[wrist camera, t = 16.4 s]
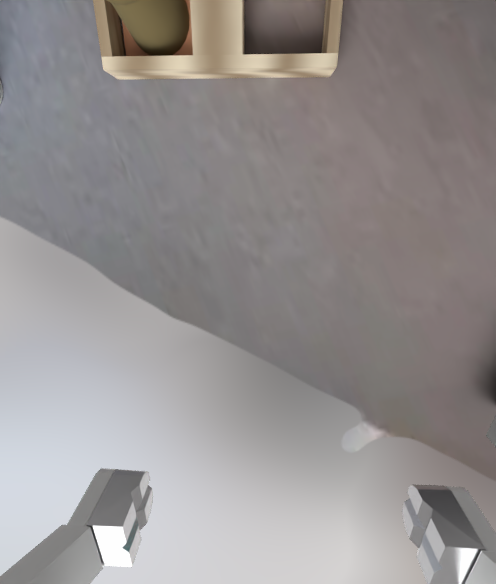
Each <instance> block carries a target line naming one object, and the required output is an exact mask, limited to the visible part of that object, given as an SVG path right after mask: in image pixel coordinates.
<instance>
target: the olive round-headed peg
mask: <svg viewBox="0 0 496 584" xmlns="http://www.w3.org/2000/svg"><path fill="white" fill-rule="evenodd" d="M107 1H109V2H110V3H112V5H113V6H114V8H115V10H116V11H117V13H118V15H119V16H120V18H121V19H122V21H123V23H124V24H125V26H126V28H127V29H128V31H129V32H130V34H131V36H132V37H133V39H134V41H135V42H136V44H137V45H138V46H139V47H140V48H141V49H142V50H143V51H144V52H145V53H147V54H149V55H151V56H171V55H173V54H175V53H176V52H177V51H178V50H180V49H181V47H182V45H183V44H184V42H185V41H186V38H187V34H188V31H189V12H188V7H187V3H186V1H185V0H107Z"/></svg>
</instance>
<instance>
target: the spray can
mask: <svg viewBox="0 0 496 584" xmlns="http://www.w3.org/2000/svg"><path fill="white" fill-rule="evenodd" d="M2 98H3V87H2V83H1V80H0V104H1V102H2Z"/></svg>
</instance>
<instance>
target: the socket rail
mask: <svg viewBox="0 0 496 584" xmlns="http://www.w3.org/2000/svg"><path fill="white" fill-rule="evenodd" d="M185 1H186V3H187V7H188V12H189V31H188V34H187V38H186V41H185V42H184V44H183V45H182V47H181V49H180V50H178V51H177V52H176V53H175V54H173V55H171V56H151V55H149V54H147V53H145V52H144V51H143V50H142V49H141V48H140V47H139V46H138V45H137V44H136V42H135V41H134V39H133V37H132V36H131V34H130V32H129V31H128V29H127V28H126V26H125V24H124V23H123V21H122V26H123V34H124V42H125V50H126V56H125V53H124V45H123V37H122V29H121V21H120V16H119V15H118V13H117V11H116V10H115V8H114V6H113V5H112V3H110V2H109V1H107V0H93V3H94V10H95V16H96V23H97V30H98V36H99V43H100V50H101V57H102V63H103V70H105V71H106V72H108V73H109V74H111V75H112V76H114V77H115V78H117V79H200V78H286V77H330V76H331V75H332V73H333V72H334V70H335V69H336V67H337V60H338V49H339V39H340V28H341V18H342V7H343V0H326V3H325V16H324V29H323V42H322V53H310V54H245V43H244V0H185Z"/></svg>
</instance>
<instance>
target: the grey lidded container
mask: <svg viewBox="0 0 496 584" xmlns="http://www.w3.org/2000/svg"><path fill="white" fill-rule="evenodd" d="M486 436H487V437H488V439H489V440H490V441H491V442H492V443H493V444H494V446H495V447H496V415H495V417H494V420H493V422H492V424H491V426H490V428H489V430H488V432H487V434H486Z"/></svg>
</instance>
